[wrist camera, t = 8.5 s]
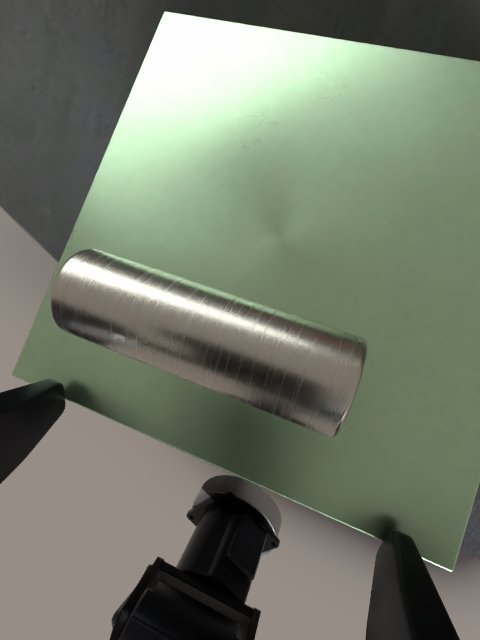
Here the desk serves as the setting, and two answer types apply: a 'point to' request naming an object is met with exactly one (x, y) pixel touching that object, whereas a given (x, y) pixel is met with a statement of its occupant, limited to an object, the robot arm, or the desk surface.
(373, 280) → the machine lid
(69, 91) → the desk surface
